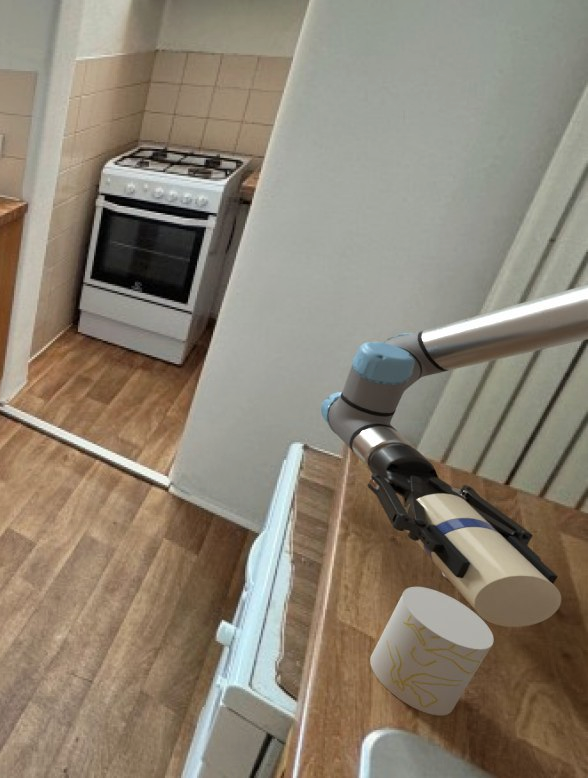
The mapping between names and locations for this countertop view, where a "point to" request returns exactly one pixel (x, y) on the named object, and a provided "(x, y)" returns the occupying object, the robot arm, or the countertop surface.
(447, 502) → the blue-striped cream cylinder
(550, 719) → the countertop surface
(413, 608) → the cup
